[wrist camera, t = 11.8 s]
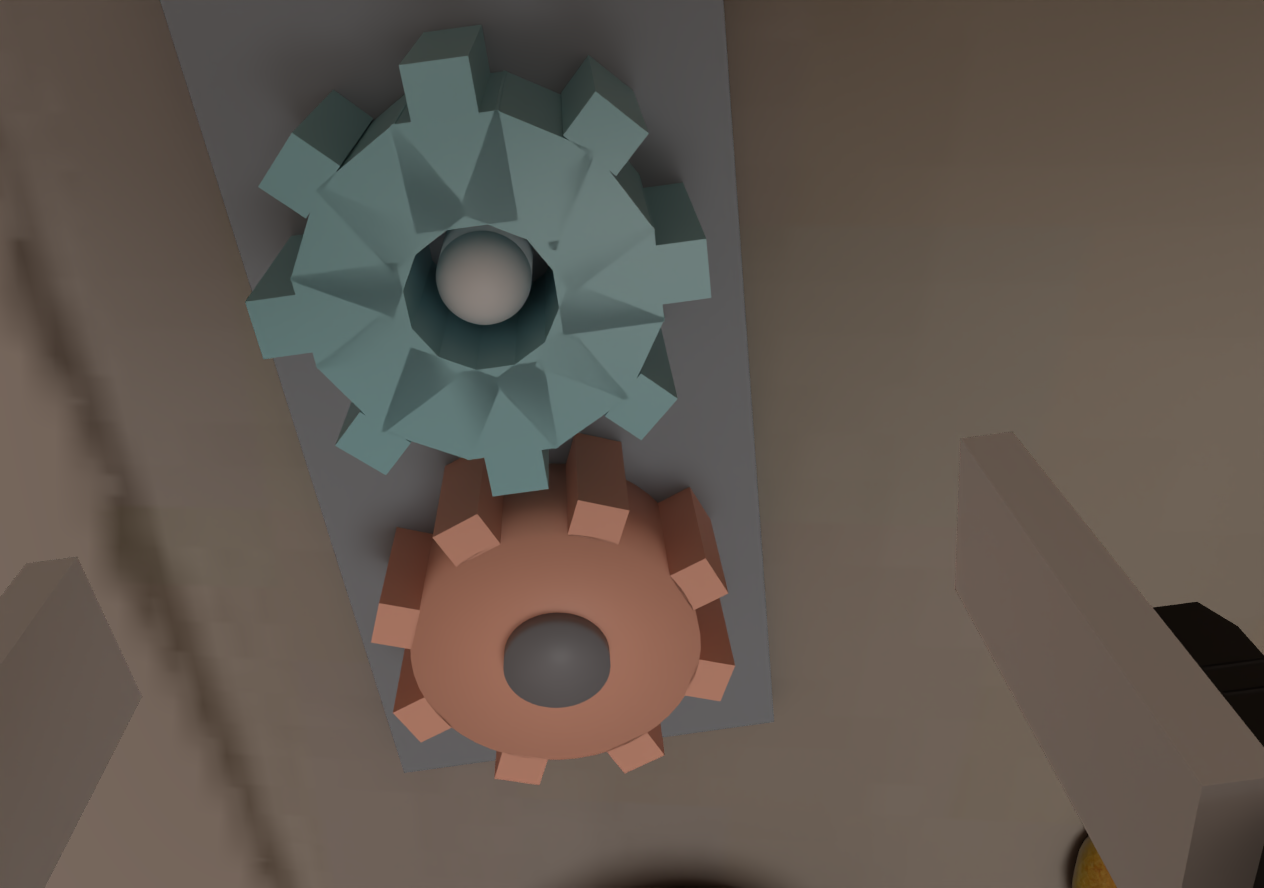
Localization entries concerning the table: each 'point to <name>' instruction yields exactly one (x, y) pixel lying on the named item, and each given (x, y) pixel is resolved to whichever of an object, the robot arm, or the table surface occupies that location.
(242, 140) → the gear board
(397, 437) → the teal gear
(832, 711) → the table surface
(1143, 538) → the table surface
